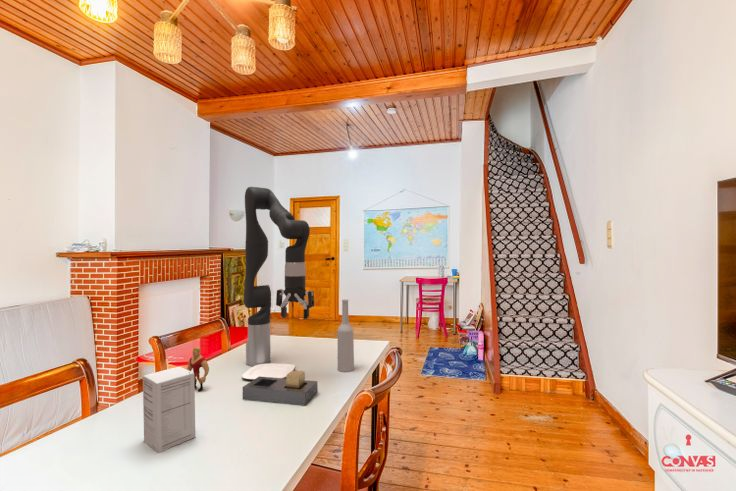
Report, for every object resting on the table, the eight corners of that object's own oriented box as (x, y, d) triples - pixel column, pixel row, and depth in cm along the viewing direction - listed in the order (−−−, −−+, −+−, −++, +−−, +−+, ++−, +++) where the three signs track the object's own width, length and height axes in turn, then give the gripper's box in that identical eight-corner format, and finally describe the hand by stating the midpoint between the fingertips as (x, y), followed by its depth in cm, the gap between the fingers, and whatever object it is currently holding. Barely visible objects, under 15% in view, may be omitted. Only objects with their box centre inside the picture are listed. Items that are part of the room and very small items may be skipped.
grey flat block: (242, 399, 116) (242, 387, 116) (259, 387, 126) (259, 376, 126) (305, 405, 111) (305, 392, 111) (317, 393, 120) (317, 381, 121)
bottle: (353, 372, 141) (352, 300, 141) (336, 372, 141) (336, 301, 141) (354, 366, 148) (353, 298, 148) (338, 366, 148) (337, 298, 148)
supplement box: (181, 426, 99) (180, 365, 99) (196, 437, 93) (196, 372, 93) (142, 441, 91) (141, 374, 91) (156, 453, 85) (156, 383, 86)
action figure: (181, 389, 125) (181, 346, 125) (190, 386, 129) (189, 344, 129) (202, 393, 122) (202, 348, 122) (210, 389, 125) (210, 346, 126)
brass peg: (286, 399, 115) (286, 375, 116) (292, 394, 120) (292, 370, 120) (299, 401, 114) (298, 376, 114) (304, 395, 119) (304, 371, 119)
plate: (298, 367, 149) (298, 363, 149) (284, 383, 131) (284, 379, 131) (256, 366, 150) (256, 362, 150) (236, 382, 132) (236, 378, 132)
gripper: (272, 274, 130) (272, 319, 130) (308, 276, 126) (308, 321, 126) (282, 272, 137) (282, 315, 137) (317, 274, 133) (317, 317, 133)
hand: (295, 318), depth 132 cm, fingers open, 8 cm apart
